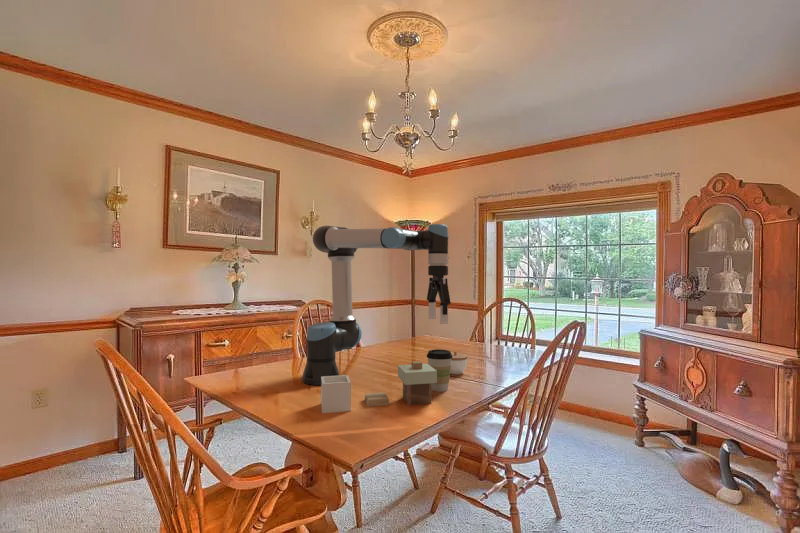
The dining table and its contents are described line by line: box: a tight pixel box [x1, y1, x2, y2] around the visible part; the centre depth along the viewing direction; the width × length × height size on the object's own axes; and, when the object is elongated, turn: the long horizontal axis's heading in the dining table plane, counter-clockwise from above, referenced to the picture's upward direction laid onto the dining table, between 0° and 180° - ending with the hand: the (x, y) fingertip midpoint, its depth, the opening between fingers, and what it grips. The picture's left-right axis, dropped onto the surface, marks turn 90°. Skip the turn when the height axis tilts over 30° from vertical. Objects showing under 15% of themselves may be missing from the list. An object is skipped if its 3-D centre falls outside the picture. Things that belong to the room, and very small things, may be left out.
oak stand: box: [364, 391, 390, 408], centre depth 141 cm, size 7×7×3 cm
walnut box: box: [402, 382, 432, 406], centre depth 143 cm, size 8×8×8 cm
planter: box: [320, 374, 352, 414], centre depth 135 cm, size 9×9×10 cm
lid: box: [397, 360, 437, 385], centre depth 143 cm, size 11×11×6 cm
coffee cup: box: [426, 348, 452, 393], centre depth 156 cm, size 10×10×15 cm
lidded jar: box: [450, 351, 468, 375], centre depth 184 cm, size 11×11×9 cm
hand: (437, 321), depth 156 cm, fingers open, 13 cm apart
